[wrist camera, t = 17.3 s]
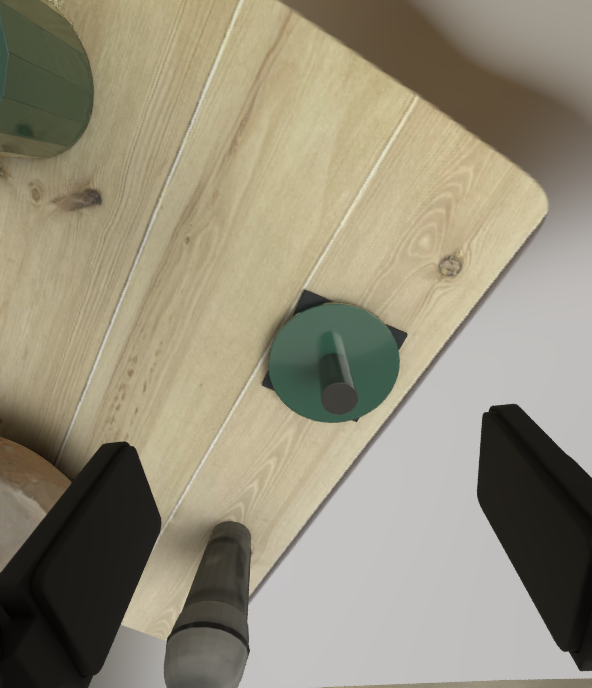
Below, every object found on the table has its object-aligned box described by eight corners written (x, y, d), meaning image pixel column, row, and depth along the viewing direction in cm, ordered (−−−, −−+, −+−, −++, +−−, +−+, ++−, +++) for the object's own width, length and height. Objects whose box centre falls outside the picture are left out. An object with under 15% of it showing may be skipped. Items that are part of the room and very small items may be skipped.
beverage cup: (250, 565, 45) (213, 829, 26) (192, 548, 44) (111, 808, 25) (271, 523, 42) (247, 782, 23) (210, 504, 41) (134, 758, 23)
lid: (420, 331, 33) (448, 363, 26) (360, 432, 37) (372, 480, 30) (299, 278, 31) (299, 299, 25) (250, 390, 35) (240, 432, 29)
